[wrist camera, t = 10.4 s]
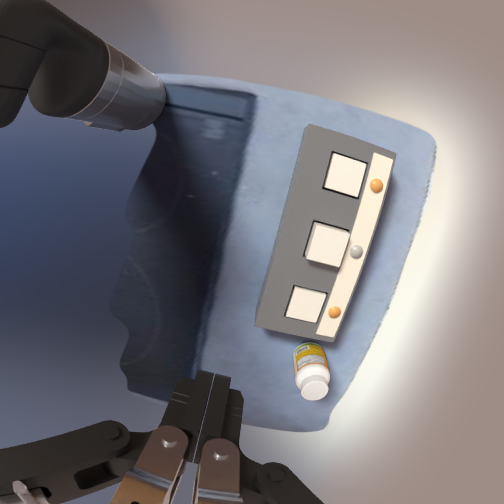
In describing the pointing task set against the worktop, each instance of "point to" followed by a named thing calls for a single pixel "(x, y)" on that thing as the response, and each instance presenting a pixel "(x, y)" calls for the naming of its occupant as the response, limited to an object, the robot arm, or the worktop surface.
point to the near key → (344, 174)
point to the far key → (305, 303)
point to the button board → (331, 213)
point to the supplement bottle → (311, 370)
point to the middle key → (326, 244)
